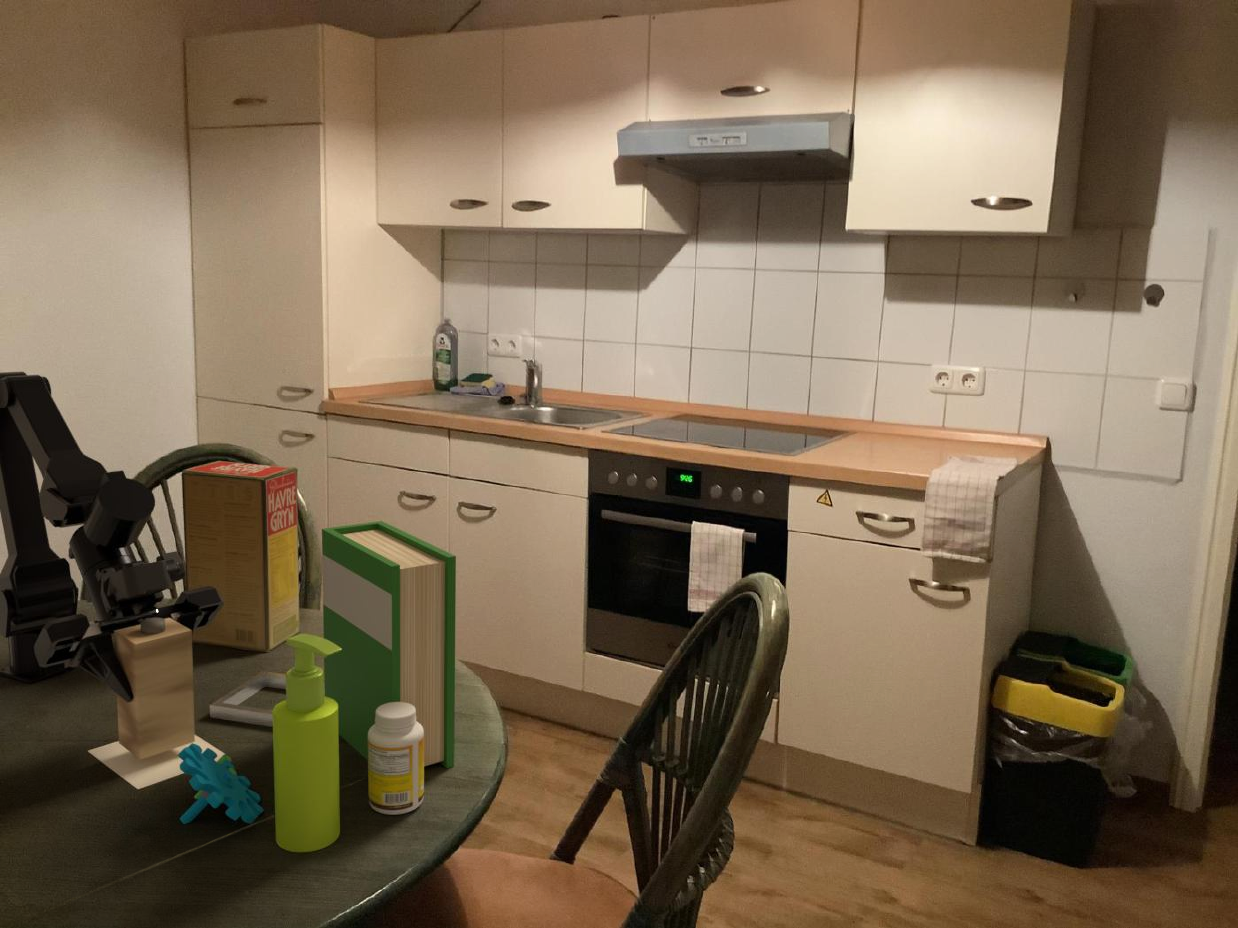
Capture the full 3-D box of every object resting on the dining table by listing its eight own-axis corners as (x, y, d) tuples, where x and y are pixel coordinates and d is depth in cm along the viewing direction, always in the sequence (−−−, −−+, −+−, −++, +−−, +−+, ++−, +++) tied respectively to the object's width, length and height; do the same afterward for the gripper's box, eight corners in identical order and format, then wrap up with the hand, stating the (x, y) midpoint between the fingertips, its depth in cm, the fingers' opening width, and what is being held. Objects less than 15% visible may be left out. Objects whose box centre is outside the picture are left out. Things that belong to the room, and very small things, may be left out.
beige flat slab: (87, 753, 112) (87, 750, 112) (176, 725, 120) (176, 722, 120) (138, 791, 105) (137, 788, 104) (229, 759, 112) (229, 756, 112)
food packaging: (303, 631, 151) (300, 466, 147) (268, 653, 142) (263, 478, 138) (223, 621, 154) (217, 458, 150) (184, 642, 145) (176, 470, 141)
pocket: (210, 719, 122) (209, 704, 121) (262, 684, 132) (262, 671, 132) (293, 731, 119) (293, 717, 119) (340, 695, 130) (339, 681, 129)
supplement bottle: (401, 783, 108) (400, 693, 106) (435, 802, 105) (435, 709, 103) (356, 803, 104) (355, 709, 102) (390, 823, 100) (390, 726, 99)
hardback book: (454, 765, 113) (455, 556, 108) (392, 784, 108) (391, 566, 103) (382, 709, 126) (381, 520, 122) (325, 724, 121) (321, 528, 117)
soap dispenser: (312, 863, 93) (308, 656, 90) (262, 839, 97) (256, 639, 93) (360, 834, 98) (358, 637, 95) (310, 813, 102) (307, 622, 98)
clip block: (119, 743, 111) (113, 621, 108) (172, 725, 116) (169, 609, 113) (140, 759, 108) (135, 634, 105) (194, 741, 113) (191, 621, 110)
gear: (262, 827, 96) (180, 759, 94) (216, 875, 95) (132, 807, 93) (273, 785, 107) (199, 723, 105) (231, 828, 106) (156, 766, 104)
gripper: (37, 546, 103) (90, 681, 98) (213, 517, 117) (267, 634, 112) (13, 602, 109) (61, 731, 105) (182, 568, 123) (232, 680, 119)
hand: (160, 691), depth 110 cm, fingers closed on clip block, 6 cm apart
